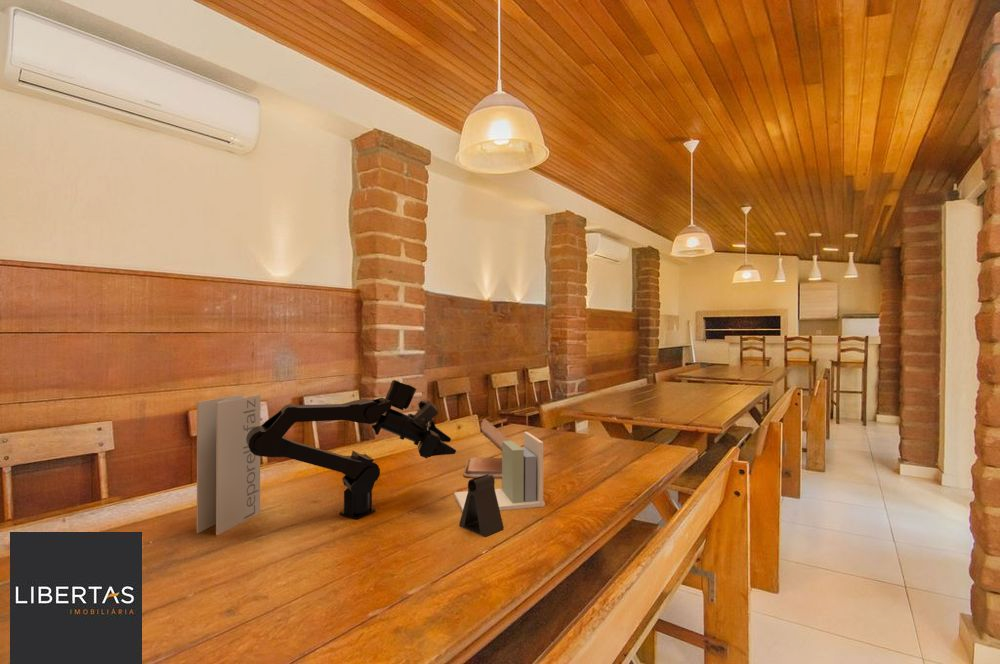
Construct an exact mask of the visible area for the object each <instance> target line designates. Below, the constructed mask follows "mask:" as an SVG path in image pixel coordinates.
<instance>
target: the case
mask: <svg viewBox="0 0 1000 664" xmlns="http://www.w3.org/2000/svg"><path fill="white" fill-rule="evenodd" d="M479 426H480V429H481V433H482V434H483V436H484V437H485V438H487V439H488V440H489V441H490V442H491V443H492V444H493V445H494V446H496V447H497V448H498V449H499V450H500V452H502V441H511V439H509V438H508V437H507V436H506V435H504V433H502V432H501V430H499V429H497V427H495V425H493V423H491V422H490V421H488V420H487V419H486V418H483V419H482V421H481V423H480V425H479ZM487 474H489V475H492V476H493V477H494V479H502V457H469V459H468V460H467V461H466V464H465V468H464V471H463V474H462V475H463V477H465V478H469V479H474V478H477V477H481V476H484V475H487ZM489 475H488V476H489Z"/></svg>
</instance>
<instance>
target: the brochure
mask: <svg viewBox="0 0 1000 664" xmlns="http://www.w3.org/2000/svg"><path fill="white" fill-rule="evenodd" d="M243 396H244V395H243V393H242V394H236V395H230V396H225V397H219V398H218V397H217V398H214V399H207V400H201V401H196V534H199V533H201V532H203V531H205V530H207V529H208V528H211V527H213V526H215V536H218V535H221V534H222V533H225V532H226V531H228V530H230V529H232V528H234V527H236V526H237V525H239V524H241V523H243V522H245V521H247V520H249V519H251V518H253V517H254V516H256V515H258V514H260V513H261V456H256V455H254V454H253V453H252V452H251V451H250V449H249V447H248V445H247V443H246V437H247V434H248V433H249V431H250V430H252V429H253V428H255V427H257V426H261V394H257V395H251V396H247V397H243Z"/></svg>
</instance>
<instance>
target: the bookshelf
mask: <svg viewBox="0 0 1000 664" xmlns="http://www.w3.org/2000/svg"><path fill="white" fill-rule="evenodd" d="M501 458H502V478H501V488H495V493H496V497H497V501H498V506H499V510H500V511H508V510H509V511H511V510H520V509H521V510H522V509H530V508H531V509H533V508H543V507H546V502H545V501H544V442H543V441H542V440H540V439H539V438H537V437H536V436H534V435H533V434H531V433H530V432H528V431H524V432H523V446H520V445H519V444H517V443H516V442H515V441H513V440H510V441H502V451H501ZM453 494H454V495H453V496H454V498H455V500H456V502H457V504H458V506H459V509H460V510H461V512H463V509H464V505H465V501H466V497H467V494H468V490H466V491H465V490H464V491H456V492H454V493H453Z"/></svg>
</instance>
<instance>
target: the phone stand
mask: <svg viewBox="0 0 1000 664" xmlns="http://www.w3.org/2000/svg"><path fill="white" fill-rule="evenodd" d="M488 475H489V474H487V475H484V476H481V477H477V478H470V479H469V480H468V482H467V491H468V494H467V497H466V501H465V505H464V509H463V512H462V511H461V512H462V513H461V516H460V521H459V524H458V525H459V527H460V528H462V529H464V530H467V531H470V532H473V533H475V534H476V535H479V536H482V537H485V538H486V537H488V536H491V535H492V534H494V533H495V534H496V533H497V532H500V531H502V530H504V528H505V527H504V523H503V518H502V515H501V510H499V506H498V501H497V497H496V493H495V489H496V488H495V478H494V477H493V476H492V475H489V476H488Z"/></svg>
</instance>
